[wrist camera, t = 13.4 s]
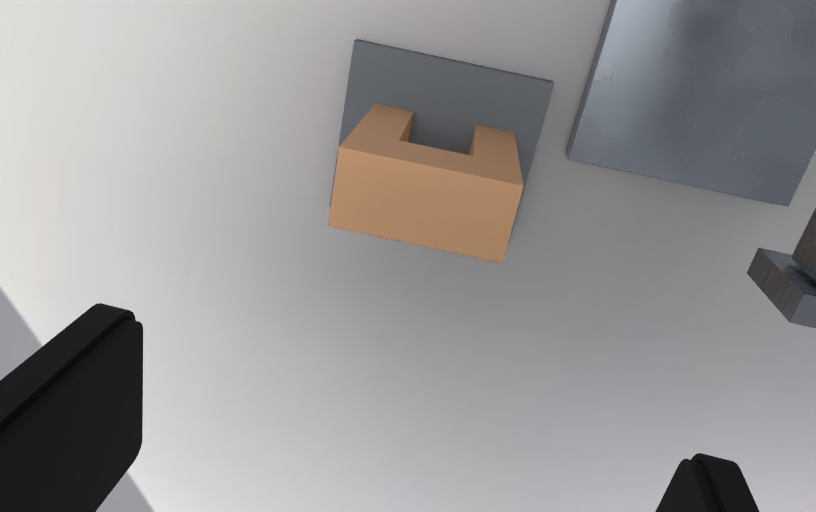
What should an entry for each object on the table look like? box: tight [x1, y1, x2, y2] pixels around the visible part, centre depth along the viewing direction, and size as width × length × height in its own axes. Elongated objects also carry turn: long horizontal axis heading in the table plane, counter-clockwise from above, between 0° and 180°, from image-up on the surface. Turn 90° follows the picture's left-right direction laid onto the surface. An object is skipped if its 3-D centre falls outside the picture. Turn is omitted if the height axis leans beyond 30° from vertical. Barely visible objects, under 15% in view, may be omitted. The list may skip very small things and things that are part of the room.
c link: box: [328, 104, 524, 263], centre depth 26 cm, size 6×3×8 cm, turn 79°
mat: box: [330, 39, 553, 246], centre depth 30 cm, size 9×8×1 cm
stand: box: [566, 0, 816, 328], centre depth 20 cm, size 10×12×15 cm
